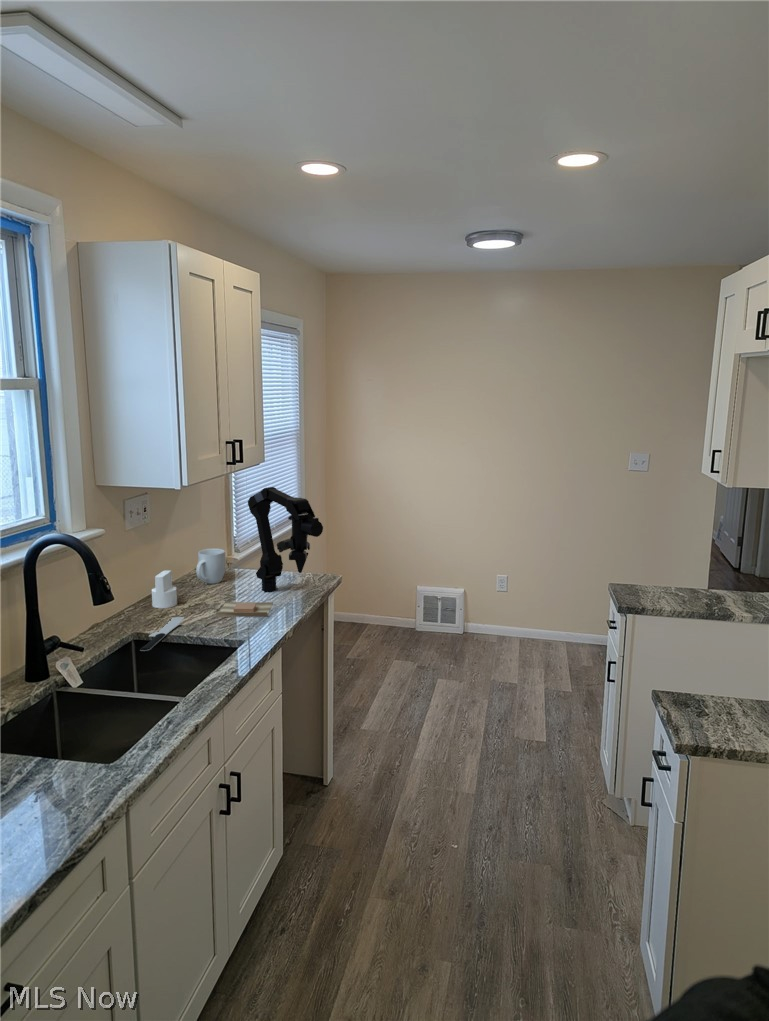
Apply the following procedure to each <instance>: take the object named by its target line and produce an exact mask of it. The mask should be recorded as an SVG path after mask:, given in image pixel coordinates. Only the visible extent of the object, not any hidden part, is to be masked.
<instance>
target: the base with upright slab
mask: <svg viewBox="0 0 769 1021" xmlns="http://www.w3.org/2000/svg"><path fill="white" fill-rule="evenodd" d="M172 579H173V578H172V570H162V571H161V572H160V573H158V574H157V575H155V576H154V582H155V583H154V584H155V585H154V586H155V587H154V588H151V604H152V607H153V608H155V609H168V608H172V607H176V606H177V605H178V597H177V596H178V595H177V594H178V593H177V590H178V589H177V588H178V587H176V586H174V585H173V580H172Z"/></svg>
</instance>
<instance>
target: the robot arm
mask: <svg viewBox="0 0 769 1021" xmlns="http://www.w3.org/2000/svg"><path fill="white" fill-rule="evenodd" d="M273 502H274V503H276V504H278V505H279V506H282V507H284V508H285V509H286V512H288V514H290V515H289V516H288V518H287V520H290V521H291V536H290V537H289V538H287V539H284V540H280V541H278V542H277V543H276V548H277V550H278V553H283V552H284V551H287V550H289V549H290V552H289V554H288V560H289V561H295V564H296V568H297V572H298V573H299V574H302V572H303V569H304V567H305V565H306V561H307V559H308V555H309V552H307V551H306V550H308V551H310V549H311V543H310V542H309V541H308V537H309V536H311V537H315V538H317V537H320V536H321V535H322V534H323V531H324V526H323V523H321V521H320V520H319V517H316V515H315V512H314V510H313V508H312V506H311V504H310V503H309V502H310V501H309V500H308V499H307V498H303V497H297V496H296V497H295V496H291V495H289V494H287V493H285V492H283V491H281V490H279V489H277V488H276V487H274V486H268V487H264V488H263V489H261V490H260V491H258V492H257V493H255V494H253V495H251V496H250V497H249V498H248V500H247V505H248V508H249V511H250V514H251V515H252V516H253V517H254V518H255V520H256V521H255V522H256V527H257V532H258V537H259V542H260V548H261V551H262V552H261V553H262V554H261V557H260V561H259V564H260V565H259V568H258V569H257V571H256V572H255V575H256V576H255V577H256V578H257V579H258V580H259V579H260V580H261V591H262V592H264V593H272V592H274V591H279V588H278V587H277V577H281V576H282V573H283V572H282V571H283V566H284V563H283V558H282V555H281V554H278V553H277V551H276V549H275V545H274V540H273V534H272V530H271V524H270V518H269V514H270V512H271V509H272V508H271V505H272V503H273Z"/></svg>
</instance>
